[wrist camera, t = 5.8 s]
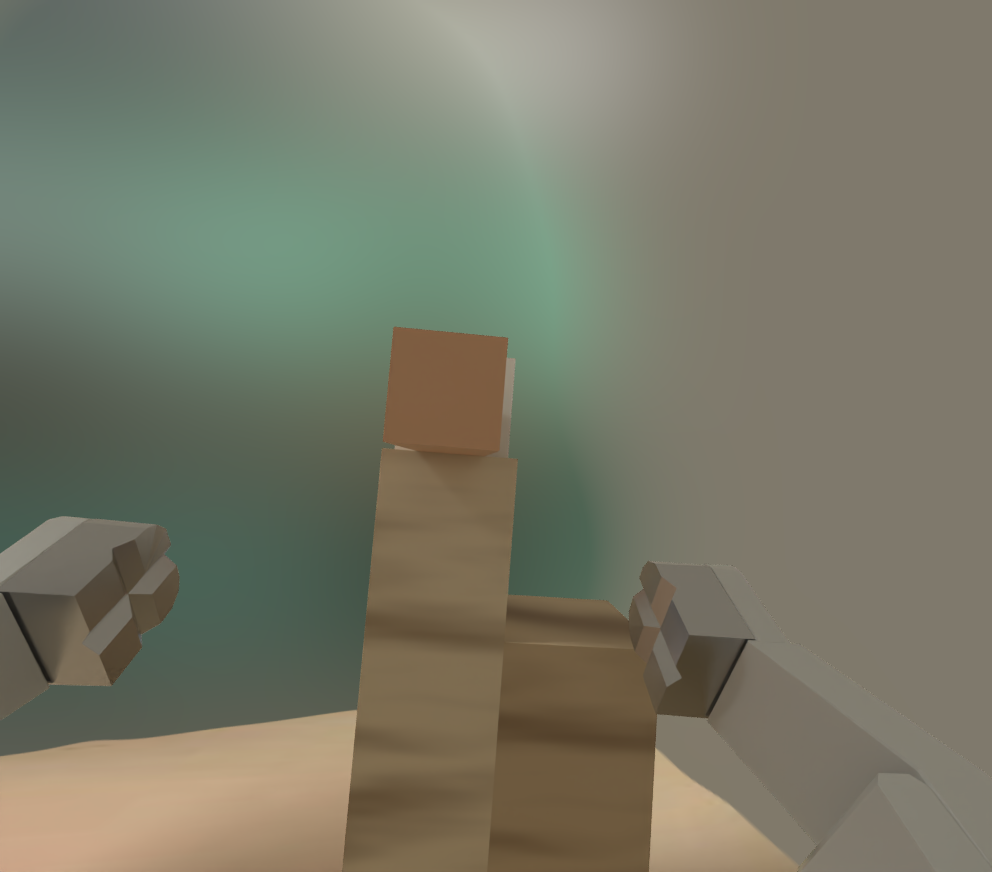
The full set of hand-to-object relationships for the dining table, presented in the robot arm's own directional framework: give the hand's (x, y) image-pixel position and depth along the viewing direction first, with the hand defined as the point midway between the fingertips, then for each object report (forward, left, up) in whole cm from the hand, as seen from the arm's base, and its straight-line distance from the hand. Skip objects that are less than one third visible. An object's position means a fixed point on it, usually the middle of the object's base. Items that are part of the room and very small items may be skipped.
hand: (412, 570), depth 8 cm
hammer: (+5, +11, +2) cm, 12 cm away
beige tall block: (+10, +13, -24) cm, 29 cm away
